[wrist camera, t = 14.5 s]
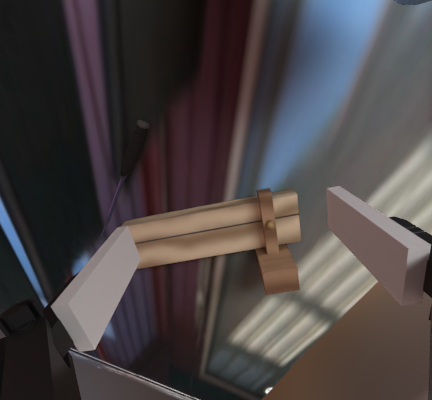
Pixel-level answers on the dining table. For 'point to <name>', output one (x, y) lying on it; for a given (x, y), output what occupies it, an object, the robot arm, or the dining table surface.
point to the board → (212, 229)
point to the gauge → (274, 252)
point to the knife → (129, 161)
